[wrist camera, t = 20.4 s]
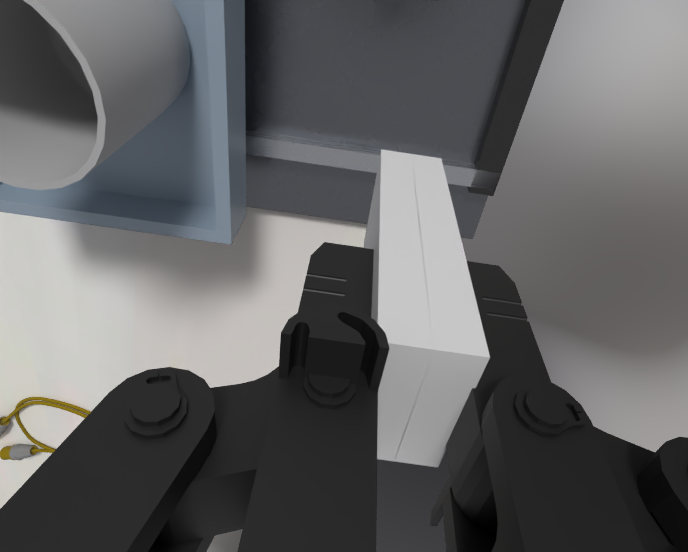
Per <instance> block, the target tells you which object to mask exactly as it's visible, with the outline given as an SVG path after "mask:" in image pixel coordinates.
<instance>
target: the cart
mask: <svg viewBox="0 0 688 552" xmlns="http://www.w3.org/2000/svg"><path fill="white" fill-rule="evenodd" d="M172 2H173V4H174V5H175V7H176V9H177V11H178V13H179V14H180V16H181V18H182V21H183V24H184V27H185V30H186V34H187V37H188V40H189V51H190V67H189V73H188V78H187V82H186V84H185V86H184V88H183V90H182V92H181V94H180V95H179V97H178V98H177V99H176V100H175V101H174V102H173V103H172V104H171V105H170V106H169V107H168V108H167V109H166V110H165V111H164V112H163V113H162V114H161V115H159V116H158V117H157V118H156V119H154V120H153V121H152V122H151V123H150V124H148V125H147V126H146V127H145V128H143V129H142V130H141V131H140V132H139V133H137V134H136V135H135V136H134V137H132V138H131V139H130V140H129V141H127V142H126V143H125V144H124V145H123V146H121V147H120V148H119V149H118V150H116V151H115V152H114V153H113V154H112V155H110V156H109V157H108V158H107V159H105V160H104V161H103V162H102V163H101V164H99V165H98V166H97V167H96V168H94V169H93V170H92V171H91V172H90V173H88V174H87V175H86V176H85V177H83V178H82V179H81V180H79V181H76V182H74V183H72V184H70V185H67V186H65V187H63V188H56V189H47V190H34V189H27V188H20V187H14V186H11V185H8V184H5V183H2V182H0V212H6V213H13V214H20V215H27V216H34V217H41V218H48V219H55V220H62V221H69V222H76V223H83V224H90V225H97V226H104V227H111V228H118V229H125V230H132V231H139V232H146V233H153V234H160V235H167V236H174V237H181V238H188V239H195V240H202V241H209V242H216V243H223V244H230V245H231V244H232V242H233V240H234V238H235V236H236V234H237V232H238V230H239V228H240V226H241V224H242V222H243V220H244V218H245V216H246V118H245V0H172Z"/></svg>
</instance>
